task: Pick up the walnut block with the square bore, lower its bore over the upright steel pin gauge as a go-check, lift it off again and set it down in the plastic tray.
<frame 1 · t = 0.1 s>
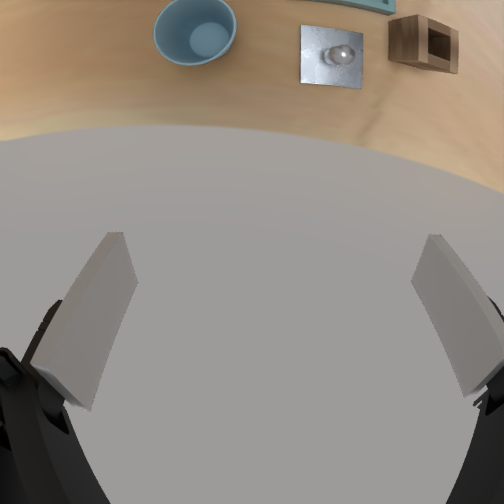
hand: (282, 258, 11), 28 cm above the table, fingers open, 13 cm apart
gauge post: (331, 56, 28), on the table
cup: (210, 40, 27), on the table
bored block: (407, 45, 25), on the table
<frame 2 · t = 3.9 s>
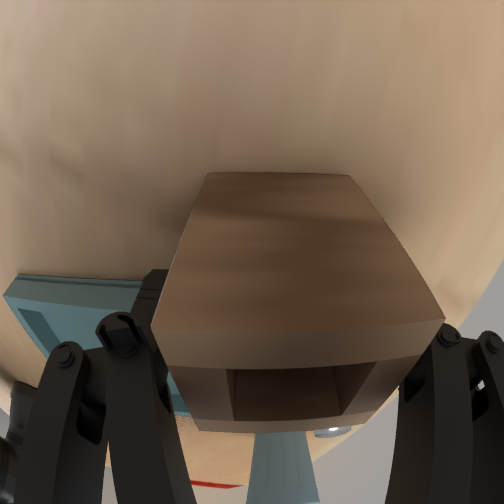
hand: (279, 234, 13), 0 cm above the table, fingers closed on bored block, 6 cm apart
cup: (279, 425, 28), on the table
bored block: (277, 234, 13), on the table, touching gripper
tray: (122, 348, 19), on the table
when the fingers open (2 cm above the table, at t = 13.5 s): bored block stays where it is, resting on tray.
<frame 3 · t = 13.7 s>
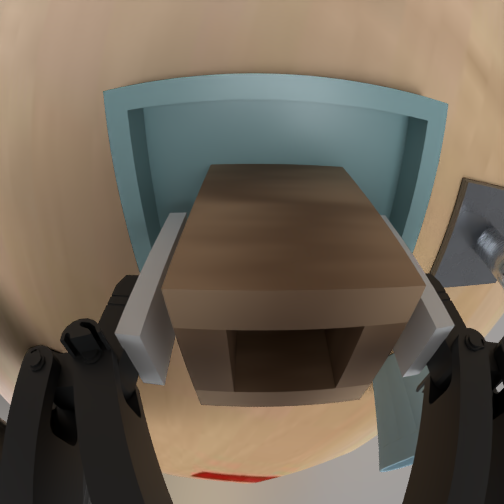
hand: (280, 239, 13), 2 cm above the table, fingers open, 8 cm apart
gauge post: (482, 237, 15), on the table
cup: (396, 362, 24), on the table
bored block: (275, 221, 14), point 1 cm above the table, touching tray
tray: (276, 214, 14), on the table
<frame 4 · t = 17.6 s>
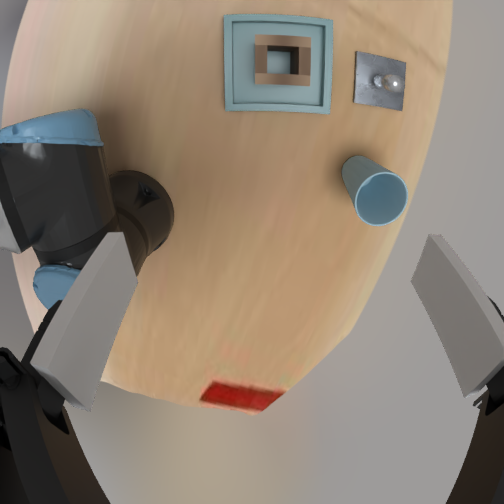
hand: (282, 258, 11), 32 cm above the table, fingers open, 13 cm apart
gauge post: (379, 81, 32), on the table
cup: (357, 171, 41), on the table
bored block: (277, 62, 31), point 1 cm above the table, touching tray
tray: (277, 62, 32), on the table
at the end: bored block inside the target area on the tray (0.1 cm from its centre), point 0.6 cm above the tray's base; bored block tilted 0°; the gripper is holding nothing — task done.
